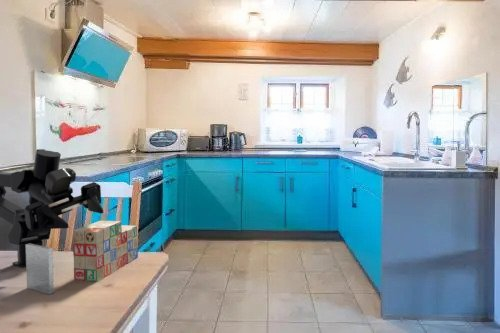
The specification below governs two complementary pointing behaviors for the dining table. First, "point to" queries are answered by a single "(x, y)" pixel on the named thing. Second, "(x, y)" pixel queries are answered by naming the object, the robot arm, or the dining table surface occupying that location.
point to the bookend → (39, 268)
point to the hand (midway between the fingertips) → (85, 218)
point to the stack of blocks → (103, 249)
